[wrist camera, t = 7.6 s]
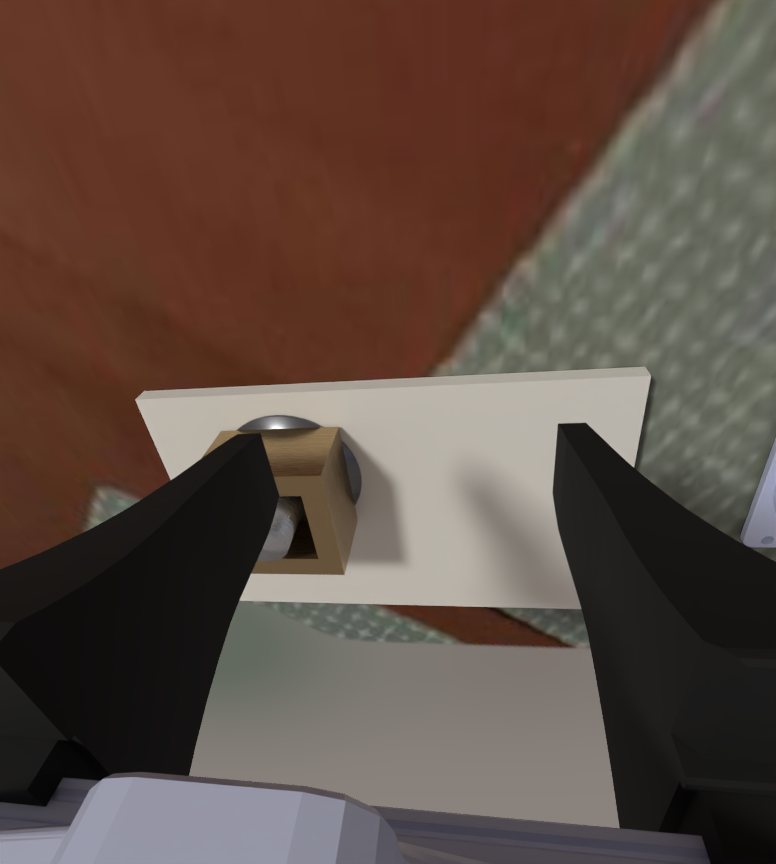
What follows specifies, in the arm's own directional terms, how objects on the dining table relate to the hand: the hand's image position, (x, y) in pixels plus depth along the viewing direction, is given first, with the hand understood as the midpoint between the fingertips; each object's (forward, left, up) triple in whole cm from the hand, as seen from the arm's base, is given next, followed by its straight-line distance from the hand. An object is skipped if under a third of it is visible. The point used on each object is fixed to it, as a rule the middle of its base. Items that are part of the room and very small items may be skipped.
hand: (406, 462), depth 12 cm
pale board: (+3, +10, -9) cm, 14 cm away
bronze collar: (+7, +7, -8) cm, 13 cm away
